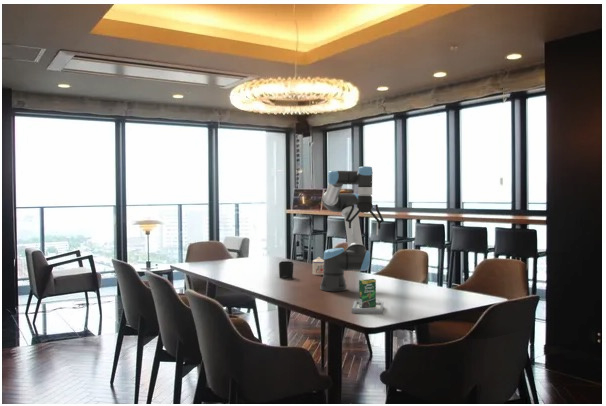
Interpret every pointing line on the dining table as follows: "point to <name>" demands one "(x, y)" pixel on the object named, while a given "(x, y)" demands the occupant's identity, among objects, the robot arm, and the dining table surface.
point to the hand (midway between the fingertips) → (364, 235)
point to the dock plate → (370, 310)
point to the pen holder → (286, 269)
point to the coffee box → (367, 293)
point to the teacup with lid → (318, 266)
